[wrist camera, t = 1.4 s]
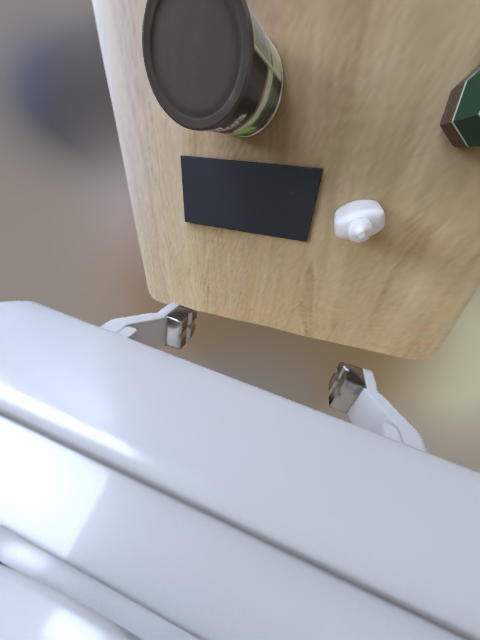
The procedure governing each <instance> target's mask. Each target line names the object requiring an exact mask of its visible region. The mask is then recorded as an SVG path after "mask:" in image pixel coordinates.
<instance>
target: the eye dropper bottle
mask: <svg viewBox="0 0 480 640" xmlns="http://www.w3.org/2000/svg"><path fill="white" fill-rule="evenodd" d="M384 226H385V213H384V210H383V209H382V207H381V206H380V204H379V203H378V202H377V201H374V200H358V201H354V202H351V203H348V204H346V205H344V206H342V207H341V208H339V209H338V210H337V211H336V212H335V219H334V229H335V235H336V237H338V238H340V239H345V240H352V241H353V242H356V243H359V242H364V241H366V240H367V239H368V238H370V236H371V235H374V234H376V233H377V232H379V231H380V230H382V229H383V228H384Z"/></svg>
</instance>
